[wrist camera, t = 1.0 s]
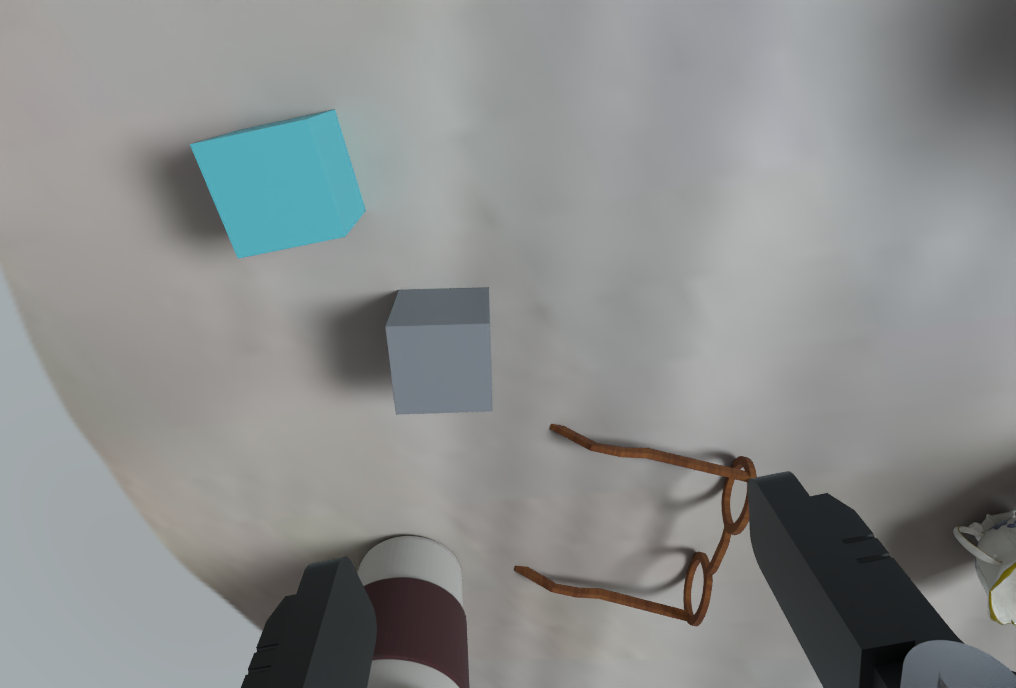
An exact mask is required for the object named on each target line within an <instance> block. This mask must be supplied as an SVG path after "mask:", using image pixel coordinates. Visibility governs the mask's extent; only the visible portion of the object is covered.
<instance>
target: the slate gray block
mask: <svg viewBox="0 0 1016 688" xmlns="http://www.w3.org/2000/svg"><path fill="white" fill-rule="evenodd" d="M385 328H386V336H387V344H388V353H389V361H390V369H391V378H392V386H393V394H394V403H395V411H396V414H425V413H454V412H484V411H492V371H491V339H490V308H489V287H486V288H449V289H412V290H399V291H398V294H397V296H396V299H395V302H394V304H393V307H392V310H391V313H390V315H389V318H388V321H387V323H386V326H385Z"/></svg>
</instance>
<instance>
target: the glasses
mask: <svg viewBox="0 0 1016 688" xmlns="http://www.w3.org/2000/svg"><path fill="white" fill-rule="evenodd" d="M550 429H551V430H553V431H555V432H557V433H559V434H560V435H562V436H564V437H566V438H568V439H570V440H572V441H574V442H575V443H577V444H579V445H581V446H583V447H585V448H587V449H589V450H590V451H595V452H599V453H604V454H609V455H613V456H618V457H630V458H647V459H652V460H656V461H660V462H664V463H669V464H673V465H677V466H681V467H686V468H690V469H694V470H698V471H703V472H707V473H711V474H715V475H719V476H724V477H727V478H726V481H725V484H724V488H723V493H722V516H723V522H724V530H723V534H722V537H721V540H720V542H719V544H718V547H717V549H716V551H715V553H714V556H713V558H712V560H711V562H709V559H708V557H707V555H706V554H705V553H702V552H697V553H696V554H695V555H694V557H693V559H692V561H691V564H690V566H689V569H688V571H687V574H686V578H685V584H684V610H682V609H679V608H675V607H671V606H667V605H663V604H659V603H655V602H651V601H647V600H643V599H639V598H635V597H631V596H628V595H624V594H620V593H616V592H612V591H608V590H604V589H598V588H578V587H572V586H566V585H561V584H556V583H554V582H553V581H551V580H549V579H548V578H546V577H544V576H542V575H541V574H539V573H537V572H535V571H534V570H532V569H530V568H529V567H522V566H515V571H516V572H518V573H520V574H522V575H523V576H525V577H527V578H528V579H530V580H532V581H533V582H535V583H537V584H538V585H540V586H542V587H544V588H545V589H547V590H549V591H550V592H553V593H558V594H563V595H567V596H572V597H578V598H595V599H602V600H606V601H610V602H614V603H618V604H622V605H625V606H629V607H633V608H637V609H641V610H645V611H649V612H653V613H657V614H661V615H665V616H668V617H672V618H676V619H680V620H684V621H687V622H688V624H690V625H692V626H698V625H700V624H701V622H702V621H703V619H704V617H705V615H706V612H707V609H708V606H709V602H710V597H711V590H712V581H713V579H712V575H713V574H714V573H716V571H717V570H718V568H719V566H720V564H721V561H722V559H723V557H724V555H725V552H726V550H727V548H728V545H729V542H730V537H731V534H732V535H737V534H740V533H741V532H742V531H743V530H744V528H745V527H746V525H747V524H748V522H749V503H748V480H749V479H751V478H756V477H757V476H756V470H755V467H754V464H753V462H752V461H751V459H749V458H747V457H743V456H739V457H738V458H736V460H735V461H734V462H733V464H732V467H731V468H730V467H726V466H722V465H717V464H713V463H709V462H705V461H701V460H696V459H692V458H688V457H684V456H679V455H675V454H671V453H667V452H662V451H658V450H654V449H650V448H625V447H617V446H611V445H605V444H599V443H596V442H594V441H592V440H590V439H588V438H586V437H584V436H582V435H580V434H578V433H576V432H575V431H573V430H571V429H569V428H567V427H565V426H561V425H556V424H551V425H550ZM742 467H744V469H745V471H743V470H740V469H741V468H742ZM735 479H736V480H741V481H745V482H747V495H746V500H745V504H744V507H743V510H742V512H741V514H740V516H739V518H738V520H737V521H736V522H735V523H733V520H732V517H731V511H730V496H731V491H732V486H733V483H734V480H735ZM700 562H701V565H702V568H703V574H704V586H703V593H702V598H701V602H700V605H699V608H698V610H697V612H696V613H695V615H694V614H693V611H692V606H691V587H692V581H693V577H694V574H695V571H696V568H697V566H698V565H699V563H700Z"/></svg>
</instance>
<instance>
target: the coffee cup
mask: <svg viewBox="0 0 1016 688" xmlns="http://www.w3.org/2000/svg"><path fill="white" fill-rule="evenodd" d="M357 574H358V576H359V578H360V580H361V582H362V584H363V586H364V588H365V590H366V593H367V595H368V597H369V599H370V601H371V603H372V605H373V607H374V611H375V615H376V622H377V637H376V643H375V649H374V654H373V659H372V665H371V670H370V675H369V681H368V686H367V688H469V669H468V645H467V623H466V616H465V613H464V610H463V600H462V574H461V569H460V566H459V563H458V561H457V559H456V558H455V556H454V555H453V554H452V553H451V552H450V551H449V550H448V549H447V548H446V547H444V546H443V545H442V544H440V543H437V542H435V541H433V540H431V539H427V538H424V537H417V536H401V537H395V538H391V539H388V540H385V541H383V542H381V543H379V544H377V545H376V546H374V547H373V548H372V549H371V550H369V552H368V553H367V554H366V555H365V557H364V558H363V560H362V562H361V564H360V566H359V569H358V572H357Z"/></svg>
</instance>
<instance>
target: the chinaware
mask: <svg viewBox="0 0 1016 688" xmlns="http://www.w3.org/2000/svg"><path fill="white" fill-rule="evenodd" d="M1014 514H1015V510H1013V511H1011V512H1009V513H1001V514H996V515H990V514H987V515H986V519H985V520H984V521H983V522H982V523H981V524H979V523H977V522H974V523H972V524H970V526H968V527H964V526H957V527H955V529H954V530H953V533H954V535H955V537H956V539H957V540H958V541H959V542H960V543H961V544H962V545H963V546H964V547H965V548H966V549H967V550H968V551H969V552H970V553H972V554H973V555H974V556H975V568H976V572H977V575H978V578H979V580H980V582H981V584H982V586H983V587H984V589H985V591H986V593H987V595H988V615H989V617H990V619H991V620H993V621H996V622H997V623H999V624H1001V625H1005V624H1009V623H1011V622H1012V624H1013V625H1016V516H1015V515H1014ZM961 532H965V533H968V534H971V535H974V536H975V537H976V540H977V541H978V544H977V547H976V546H975V545H973V544H972V543H971V542H970V541H968V540H967V539H966V538H965V537H964V536H963V535H962V533H961Z"/></svg>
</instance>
